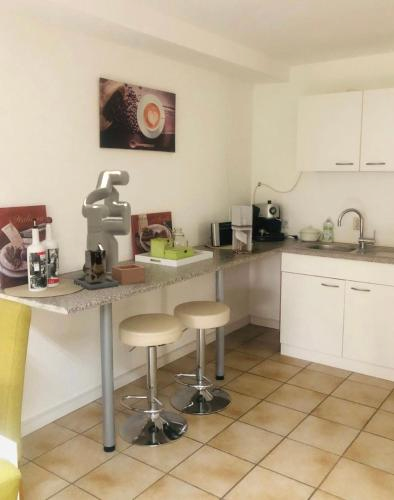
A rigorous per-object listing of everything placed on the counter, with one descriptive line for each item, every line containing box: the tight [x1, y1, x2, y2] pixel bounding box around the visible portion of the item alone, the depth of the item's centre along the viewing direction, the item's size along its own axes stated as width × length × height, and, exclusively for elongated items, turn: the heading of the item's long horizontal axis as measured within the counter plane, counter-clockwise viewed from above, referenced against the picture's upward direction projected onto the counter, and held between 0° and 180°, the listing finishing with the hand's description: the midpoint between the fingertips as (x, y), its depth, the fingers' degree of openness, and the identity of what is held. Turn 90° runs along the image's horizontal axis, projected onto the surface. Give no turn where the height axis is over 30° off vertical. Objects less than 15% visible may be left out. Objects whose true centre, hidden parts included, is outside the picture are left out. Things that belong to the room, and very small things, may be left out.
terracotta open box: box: [111, 263, 146, 286], centre depth 270 cm, size 11×14×8 cm
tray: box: [73, 276, 120, 291], centre depth 261 cm, size 20×16×2 cm
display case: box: [230, 205, 253, 252], centre depth 370 cm, size 11×11×35 cm
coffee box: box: [84, 249, 107, 282], centre depth 260 cm, size 9×6×16 cm
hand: (95, 262), depth 260 cm, fingers closed on coffee box, 7 cm apart
